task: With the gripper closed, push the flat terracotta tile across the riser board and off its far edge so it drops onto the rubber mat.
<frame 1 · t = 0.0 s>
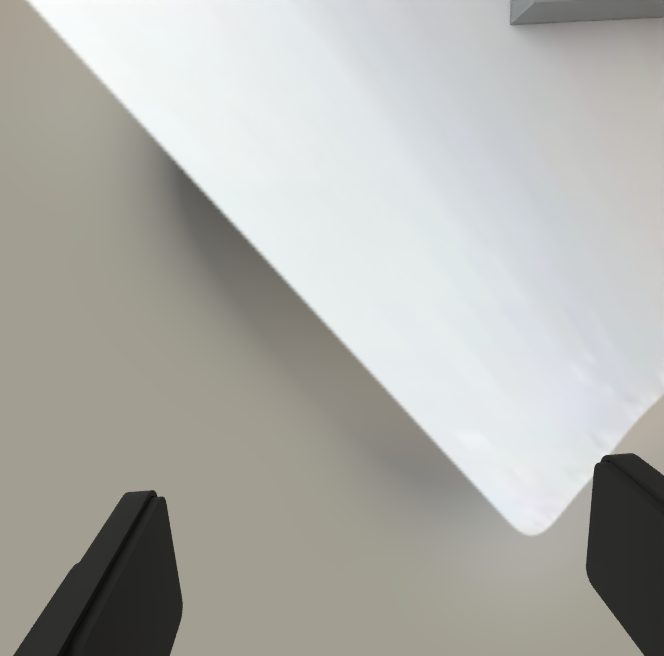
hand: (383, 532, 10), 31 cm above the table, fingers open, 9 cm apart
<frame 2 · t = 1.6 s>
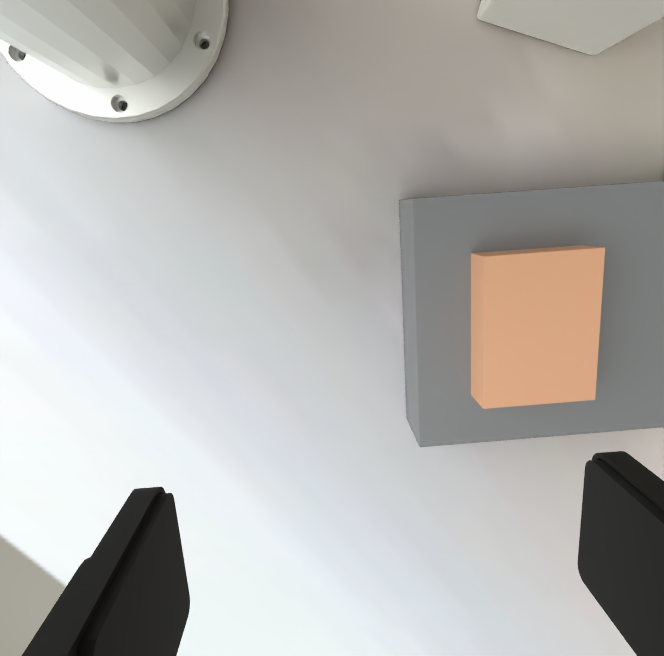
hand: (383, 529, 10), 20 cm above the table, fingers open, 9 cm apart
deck: (528, 305, 30), on the table
tile: (524, 322, 26), point 4 cm above the table, touching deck
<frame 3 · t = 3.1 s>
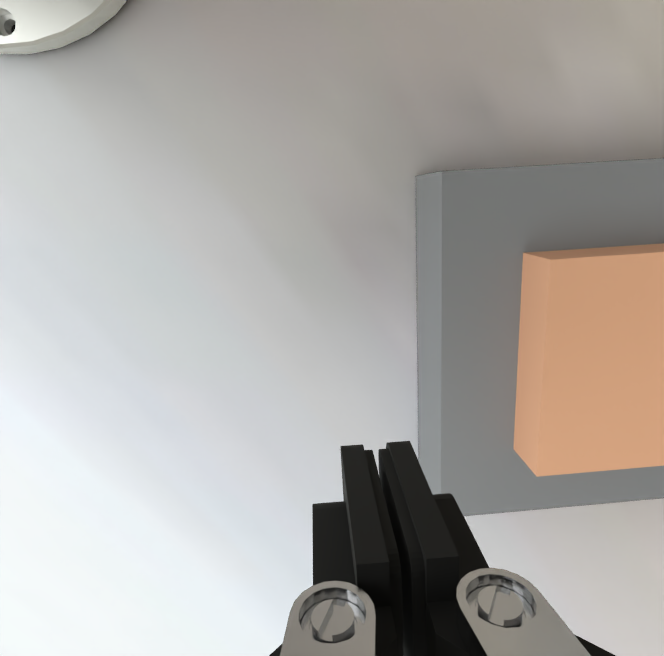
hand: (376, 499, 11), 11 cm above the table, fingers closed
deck: (584, 321, 22), on the table
tile: (593, 350, 19), point 4 cm above the table, touching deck
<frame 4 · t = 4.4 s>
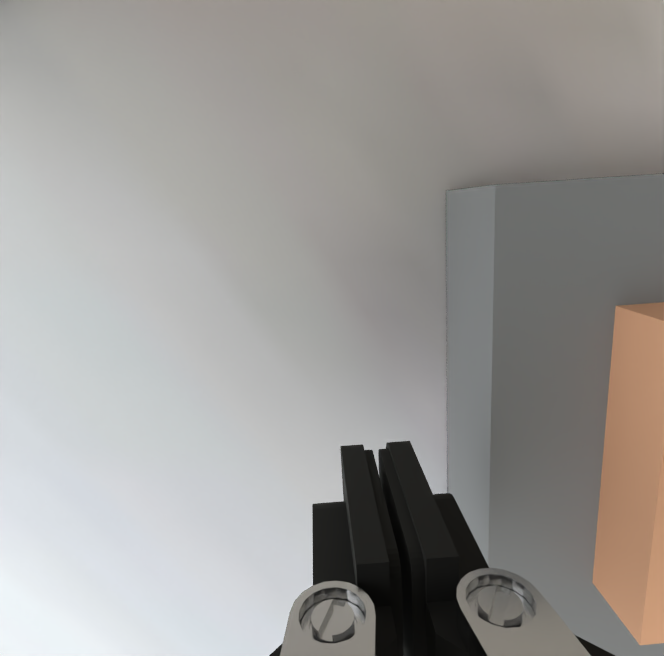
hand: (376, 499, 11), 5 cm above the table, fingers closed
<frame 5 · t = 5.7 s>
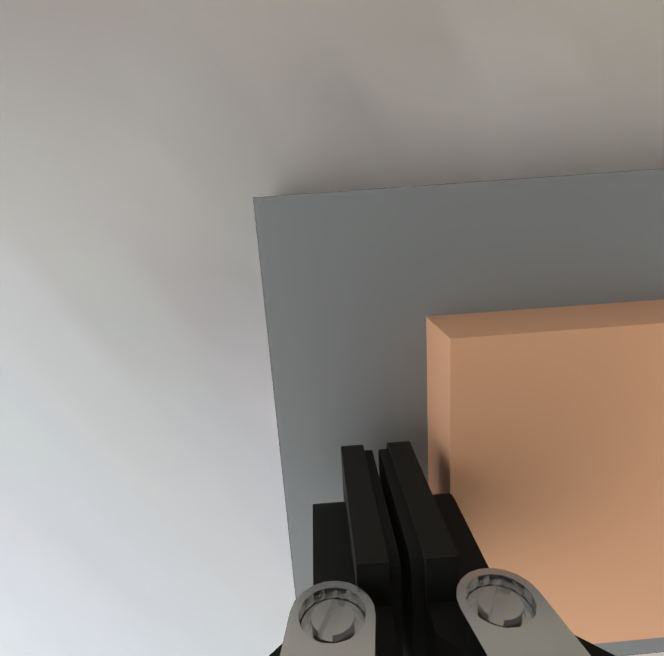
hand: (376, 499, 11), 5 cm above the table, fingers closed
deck: (520, 393, 16), on the table
tile: (541, 456, 13), point 4 cm above the table, touching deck, gripper
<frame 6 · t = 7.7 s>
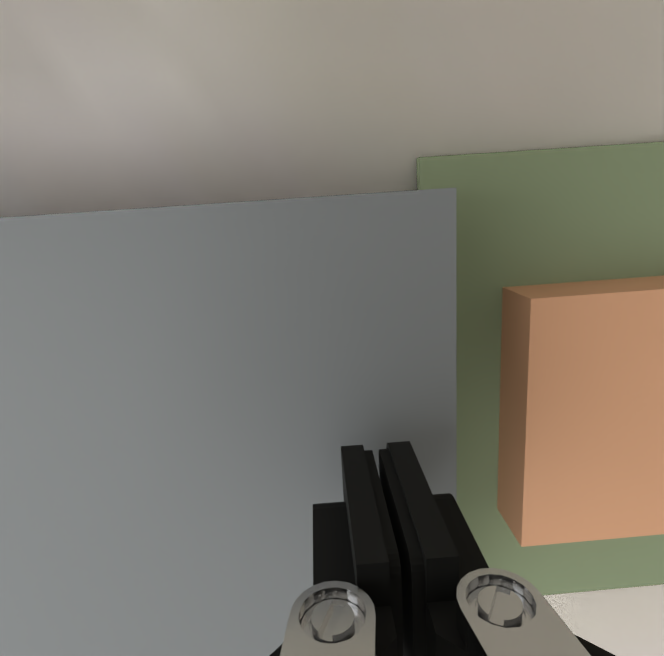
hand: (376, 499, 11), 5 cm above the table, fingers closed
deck: (186, 423, 16), on the table
tile: (625, 423, 14), point 2 cm above the table, tilted 180°, touching mat
mat: (621, 388, 17), on the table
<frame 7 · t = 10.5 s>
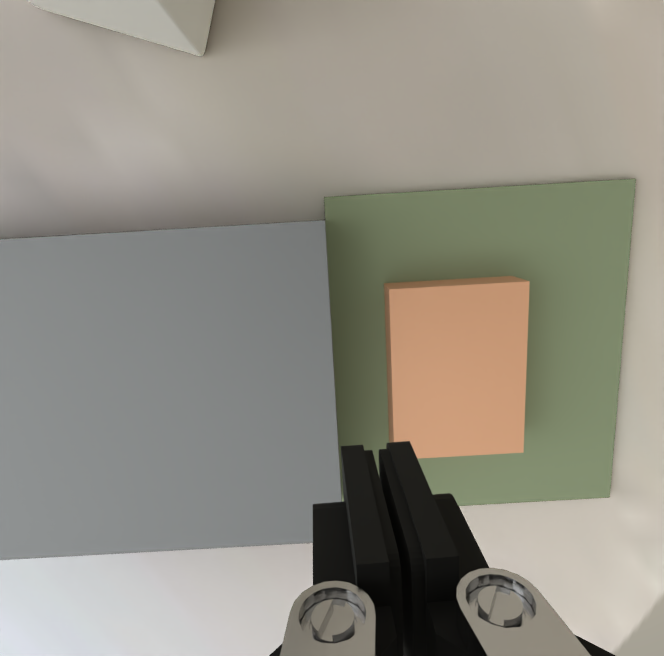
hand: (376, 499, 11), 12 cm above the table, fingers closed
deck: (173, 373, 24), on the table
tile: (459, 374, 21), point 2 cm above the table, tilted 180°, touching mat
mat: (475, 356, 24), on the table
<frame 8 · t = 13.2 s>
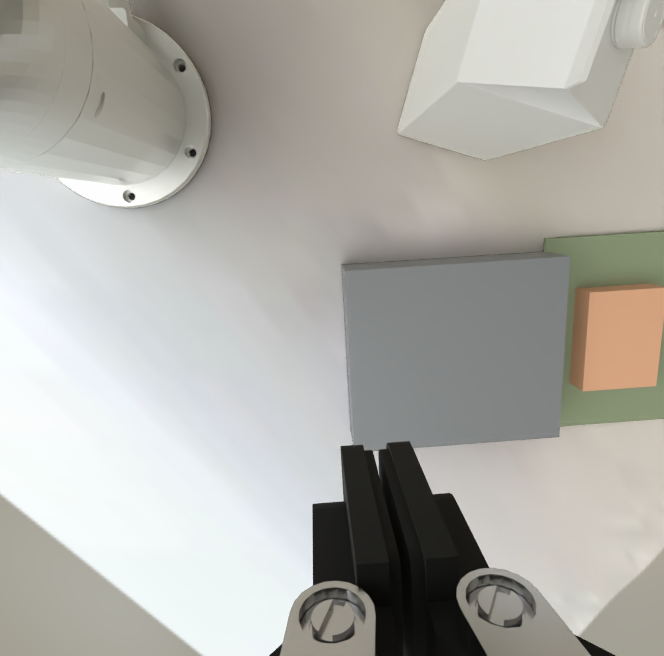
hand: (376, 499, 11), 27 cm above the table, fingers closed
milk carton: (455, 98, 35), on the table
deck: (443, 343, 39), on the table
tile: (624, 340, 37), point 2 cm above the table, tilted 180°, touching mat
mat: (622, 331, 39), on the table
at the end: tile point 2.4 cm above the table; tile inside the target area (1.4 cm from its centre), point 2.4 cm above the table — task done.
